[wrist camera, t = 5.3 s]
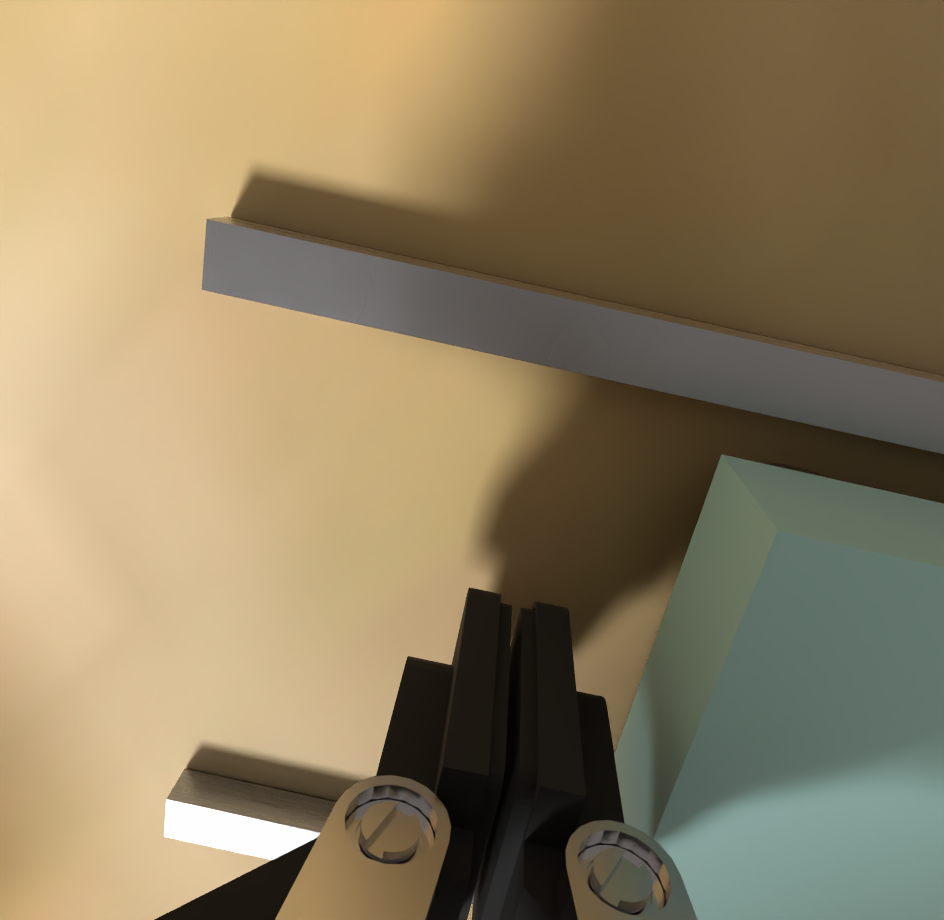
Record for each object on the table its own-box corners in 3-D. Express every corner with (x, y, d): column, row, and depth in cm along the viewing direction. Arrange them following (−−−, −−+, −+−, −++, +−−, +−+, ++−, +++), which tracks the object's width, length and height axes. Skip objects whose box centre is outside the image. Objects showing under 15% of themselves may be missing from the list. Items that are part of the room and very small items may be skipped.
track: (1376, 1066, 15) (1566, 1262, 12) (181, 804, 15) (103, 943, 12) (1887, 585, 11) (2353, 721, 8) (228, 216, 11) (124, 225, 8)
